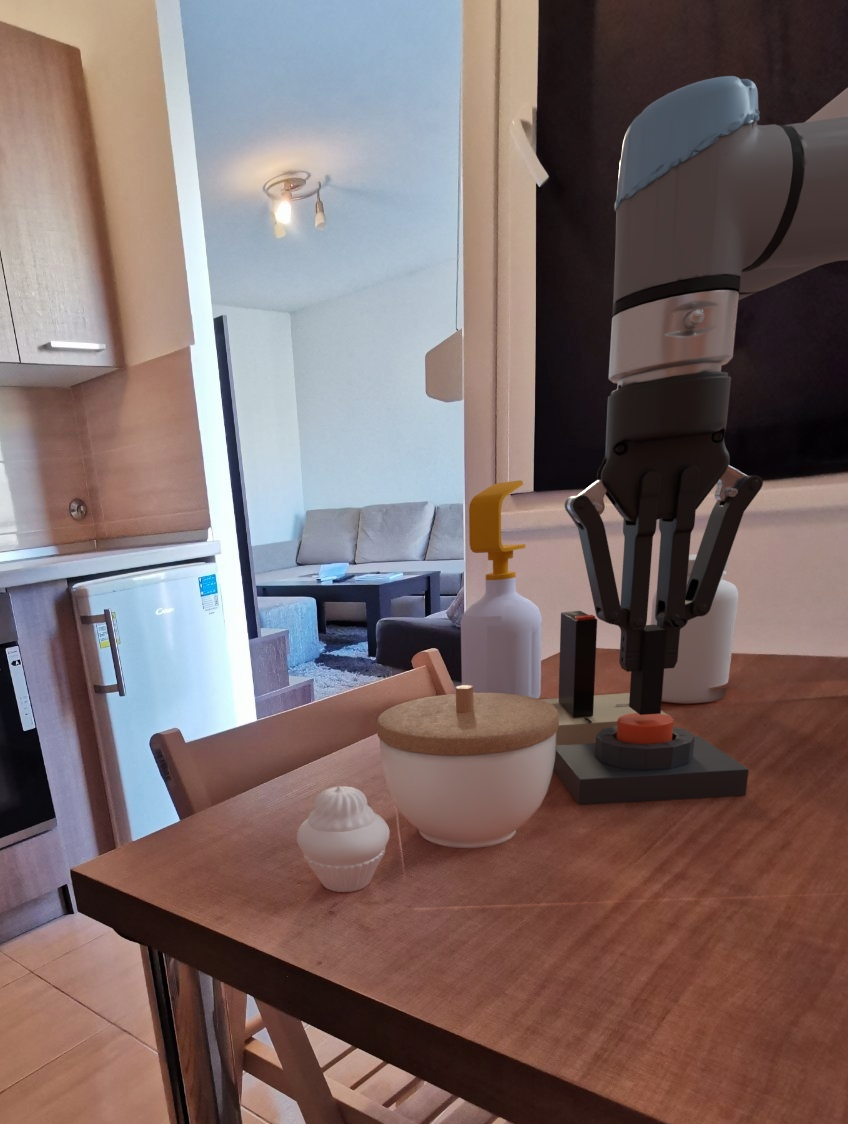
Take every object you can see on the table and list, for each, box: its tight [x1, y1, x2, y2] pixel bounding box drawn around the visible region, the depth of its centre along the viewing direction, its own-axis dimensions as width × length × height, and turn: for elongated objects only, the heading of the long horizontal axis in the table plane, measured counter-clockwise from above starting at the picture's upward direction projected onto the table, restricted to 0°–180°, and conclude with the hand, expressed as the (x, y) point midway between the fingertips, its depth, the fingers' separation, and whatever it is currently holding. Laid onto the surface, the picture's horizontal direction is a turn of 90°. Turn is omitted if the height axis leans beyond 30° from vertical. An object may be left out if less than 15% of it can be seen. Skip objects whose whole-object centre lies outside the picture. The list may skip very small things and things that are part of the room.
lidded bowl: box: [376, 684, 559, 849], centre depth 56 cm, size 13×13×11 cm
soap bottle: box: [460, 479, 543, 699], centre depth 88 cm, size 9×9×25 cm
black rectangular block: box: [558, 610, 598, 717], centre depth 72 cm, size 6×2×9 cm, turn 172°
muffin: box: [296, 785, 391, 893], centre depth 51 cm, size 6×6×7 cm
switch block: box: [553, 726, 750, 806], centre depth 62 cm, size 12×9×4 cm
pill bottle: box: [650, 553, 739, 705], centre depth 82 cm, size 8×8×15 cm
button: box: [616, 713, 675, 744], centre depth 61 cm, size 4×4×2 cm
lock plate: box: [542, 692, 670, 746], centre depth 75 cm, size 14×10×3 cm
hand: (644, 709), depth 61 cm, fingers closed
